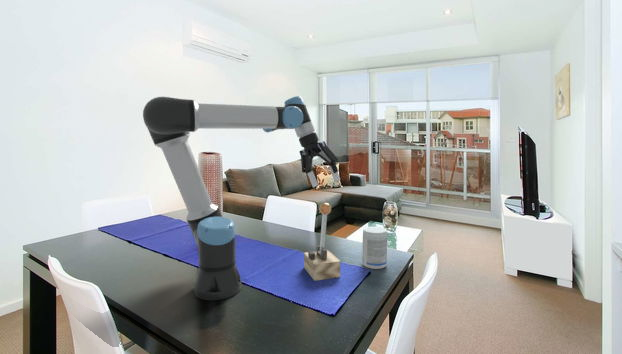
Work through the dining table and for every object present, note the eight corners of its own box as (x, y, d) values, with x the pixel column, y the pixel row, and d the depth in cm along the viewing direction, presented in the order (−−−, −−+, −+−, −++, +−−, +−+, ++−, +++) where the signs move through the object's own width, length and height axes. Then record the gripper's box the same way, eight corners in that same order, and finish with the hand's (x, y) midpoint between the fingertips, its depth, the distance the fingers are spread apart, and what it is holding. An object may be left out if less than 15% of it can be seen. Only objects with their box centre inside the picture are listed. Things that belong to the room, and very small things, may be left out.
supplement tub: (391, 266, 123) (393, 230, 121) (374, 272, 117) (375, 234, 116) (373, 258, 131) (375, 224, 129) (357, 263, 125) (358, 228, 124)
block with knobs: (314, 280, 110) (314, 255, 109) (304, 267, 121) (304, 244, 120) (340, 276, 113) (340, 251, 112) (327, 264, 124) (328, 241, 123)
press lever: (318, 258, 114) (322, 204, 111) (314, 253, 118) (318, 201, 115) (329, 257, 115) (333, 204, 113) (324, 253, 119) (328, 201, 117)
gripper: (333, 123, 117) (353, 174, 119) (295, 141, 136) (313, 185, 138) (320, 127, 112) (341, 181, 114) (282, 145, 131) (301, 191, 133)
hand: (326, 183), depth 126 cm, fingers open, 13 cm apart
